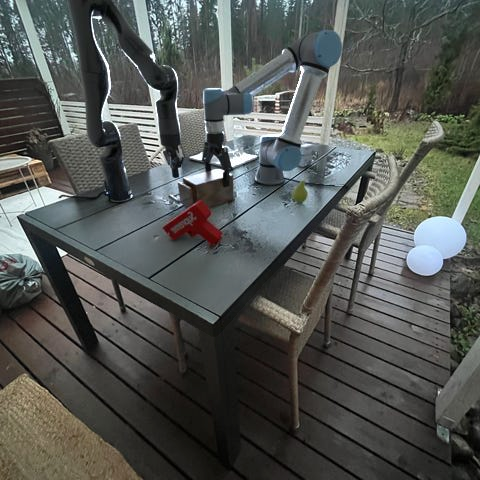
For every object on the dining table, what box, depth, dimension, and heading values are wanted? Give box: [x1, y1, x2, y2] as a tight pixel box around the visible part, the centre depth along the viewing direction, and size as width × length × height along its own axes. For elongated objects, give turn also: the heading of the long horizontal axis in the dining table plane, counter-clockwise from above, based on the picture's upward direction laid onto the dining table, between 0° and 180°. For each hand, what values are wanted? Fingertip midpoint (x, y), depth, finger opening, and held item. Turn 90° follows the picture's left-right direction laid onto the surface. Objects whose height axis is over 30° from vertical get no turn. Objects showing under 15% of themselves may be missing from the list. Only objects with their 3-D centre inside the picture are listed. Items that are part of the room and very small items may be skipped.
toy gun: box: [162, 200, 224, 248], centre depth 93 cm, size 18×4×15 cm
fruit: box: [291, 174, 311, 204], centre depth 118 cm, size 7×8×12 cm
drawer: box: [167, 181, 196, 209], centre depth 116 cm, size 23×10×10 cm, turn 129°
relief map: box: [189, 143, 258, 169], centre depth 177 cm, size 27×35×5 cm
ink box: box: [297, 143, 314, 168], centre depth 163 cm, size 8×5×12 cm, turn 135°
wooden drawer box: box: [182, 168, 234, 209], centre depth 120 cm, size 19×11×12 cm, turn 129°
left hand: (176, 177), depth 107 cm, fingers closed
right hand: (217, 182), depth 121 cm, fingers open, 13 cm apart
